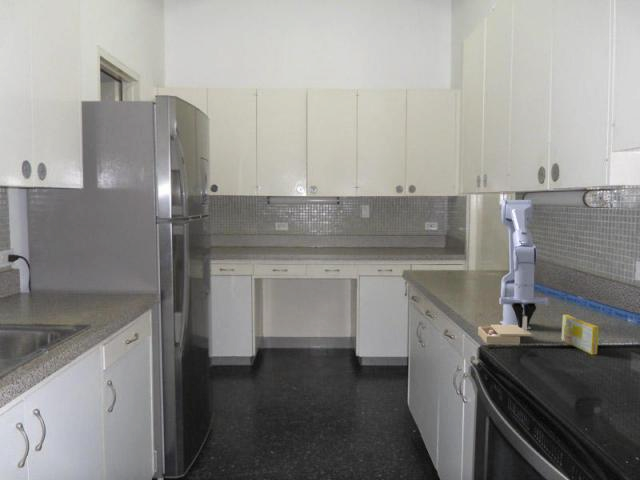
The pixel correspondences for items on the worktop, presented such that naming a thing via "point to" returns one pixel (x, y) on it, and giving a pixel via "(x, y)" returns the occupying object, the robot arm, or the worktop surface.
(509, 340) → the beige shallow box
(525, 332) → the lid
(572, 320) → the candy box
